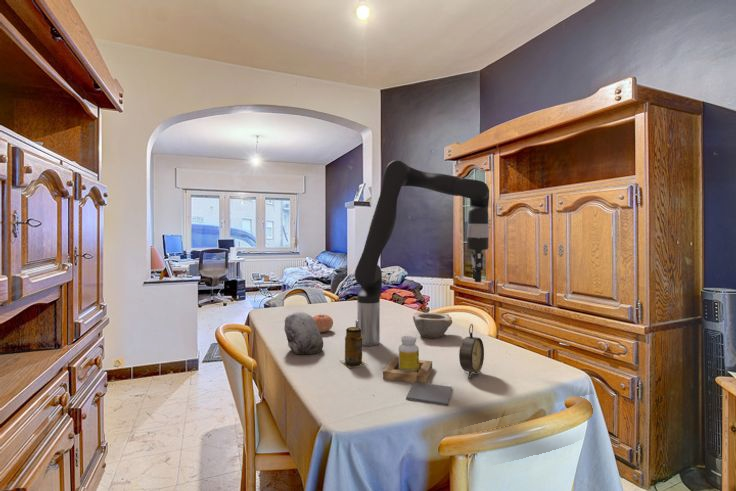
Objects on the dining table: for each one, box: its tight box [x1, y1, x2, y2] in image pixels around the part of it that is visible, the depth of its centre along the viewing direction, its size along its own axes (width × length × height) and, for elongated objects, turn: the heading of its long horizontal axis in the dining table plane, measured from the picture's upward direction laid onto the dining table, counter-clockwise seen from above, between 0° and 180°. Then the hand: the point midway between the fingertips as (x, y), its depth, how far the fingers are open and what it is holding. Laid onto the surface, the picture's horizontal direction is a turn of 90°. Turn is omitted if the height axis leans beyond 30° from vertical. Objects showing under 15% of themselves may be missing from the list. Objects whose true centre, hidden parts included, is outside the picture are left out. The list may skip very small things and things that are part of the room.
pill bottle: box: [398, 335, 420, 372], centre depth 118 cm, size 6×6×12 cm
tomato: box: [311, 313, 334, 334], centre depth 169 cm, size 11×11×8 cm
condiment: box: [340, 326, 369, 369], centre depth 127 cm, size 7×8×12 cm
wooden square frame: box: [382, 356, 433, 384], centre depth 118 cm, size 13×14×2 cm
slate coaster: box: [405, 382, 453, 406], centre depth 103 cm, size 11×11×1 cm
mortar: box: [412, 312, 453, 339], centre depth 162 cm, size 17×17×9 cm
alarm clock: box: [458, 323, 485, 380], centre depth 117 cm, size 11×5×16 cm, turn 143°
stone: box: [283, 311, 324, 355], centre depth 140 cm, size 12×15×15 cm
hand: (476, 280), depth 134 cm, fingers open, 8 cm apart
